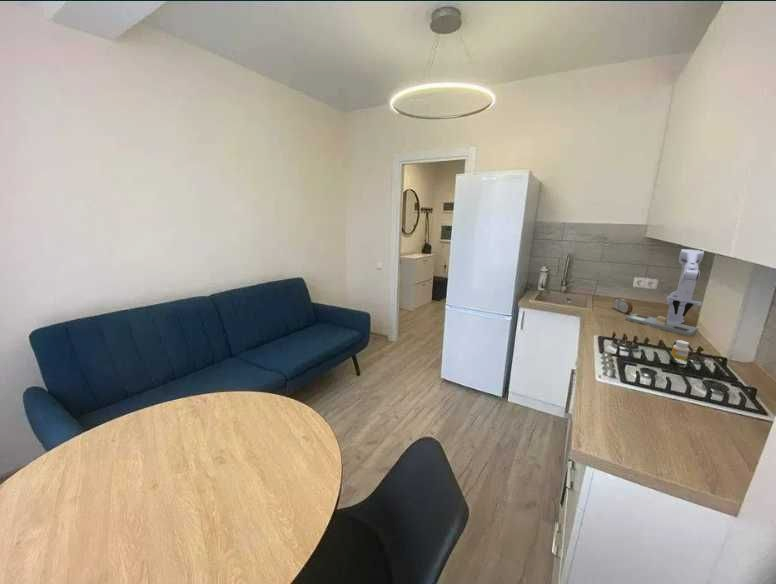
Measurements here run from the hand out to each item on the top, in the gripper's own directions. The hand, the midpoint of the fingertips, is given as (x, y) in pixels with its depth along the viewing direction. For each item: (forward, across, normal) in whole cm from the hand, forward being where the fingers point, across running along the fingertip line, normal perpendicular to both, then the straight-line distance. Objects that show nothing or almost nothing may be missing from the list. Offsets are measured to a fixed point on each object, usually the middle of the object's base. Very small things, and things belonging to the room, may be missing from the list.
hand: (679, 315), depth 177 cm
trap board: (+9, -8, +4) cm, 13 cm away
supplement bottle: (+10, +13, -52) cm, 54 cm away
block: (+7, -7, 0) cm, 10 cm away
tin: (+10, -32, +16) cm, 37 cm away
